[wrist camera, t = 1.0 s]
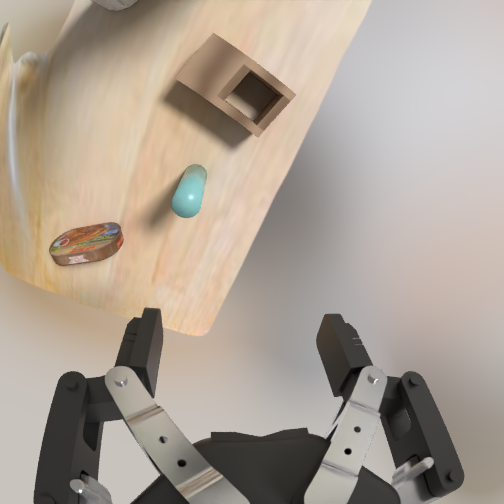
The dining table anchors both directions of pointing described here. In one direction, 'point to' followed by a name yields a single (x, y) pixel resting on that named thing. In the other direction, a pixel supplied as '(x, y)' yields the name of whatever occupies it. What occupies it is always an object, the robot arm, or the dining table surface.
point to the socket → (231, 81)
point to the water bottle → (115, 4)
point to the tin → (87, 244)
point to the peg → (190, 192)
